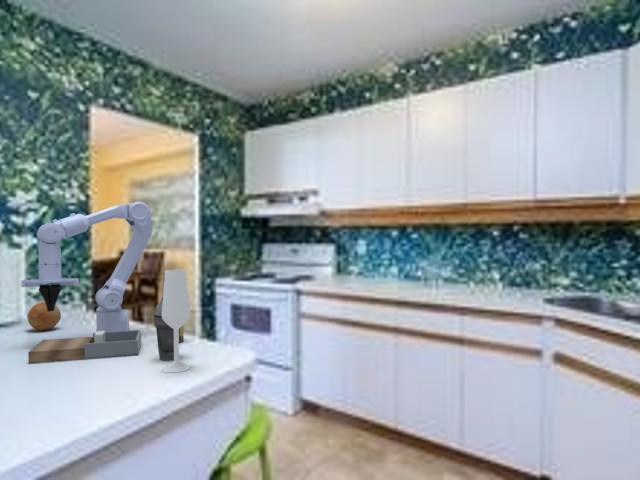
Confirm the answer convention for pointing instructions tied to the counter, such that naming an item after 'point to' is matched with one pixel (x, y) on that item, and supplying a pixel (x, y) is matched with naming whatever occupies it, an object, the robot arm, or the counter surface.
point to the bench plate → (59, 350)
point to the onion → (43, 317)
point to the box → (115, 345)
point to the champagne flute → (175, 311)
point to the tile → (99, 337)
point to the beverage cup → (164, 335)
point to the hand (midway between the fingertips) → (51, 310)
